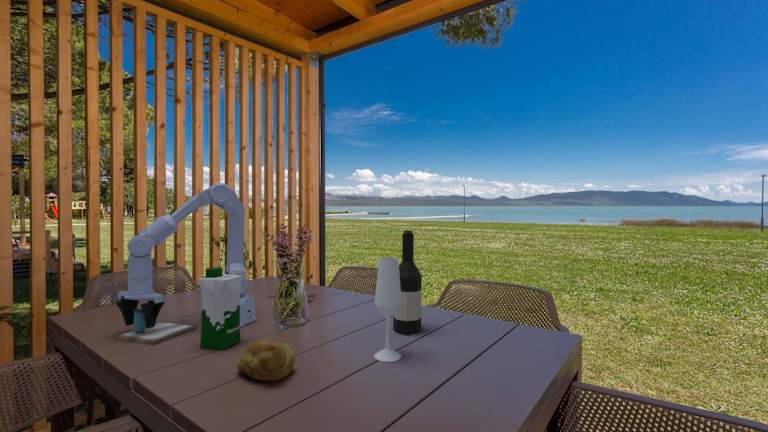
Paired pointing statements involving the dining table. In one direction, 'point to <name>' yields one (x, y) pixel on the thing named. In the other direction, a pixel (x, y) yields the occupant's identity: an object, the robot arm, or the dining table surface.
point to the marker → (139, 321)
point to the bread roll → (266, 361)
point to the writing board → (157, 333)
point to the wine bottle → (408, 290)
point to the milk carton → (220, 309)
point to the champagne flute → (388, 301)
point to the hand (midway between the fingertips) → (140, 326)
